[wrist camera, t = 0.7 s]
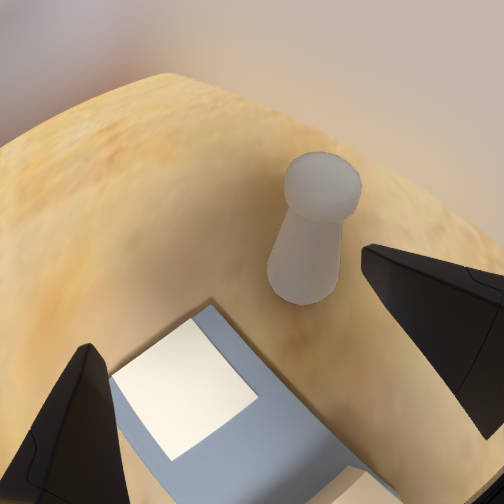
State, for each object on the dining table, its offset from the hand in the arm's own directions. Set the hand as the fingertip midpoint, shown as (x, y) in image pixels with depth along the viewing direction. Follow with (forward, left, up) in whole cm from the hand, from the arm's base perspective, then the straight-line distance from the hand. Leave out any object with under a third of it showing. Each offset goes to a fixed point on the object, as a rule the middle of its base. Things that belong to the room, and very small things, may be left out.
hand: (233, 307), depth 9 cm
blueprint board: (-4, +4, -15) cm, 17 cm away
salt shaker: (+4, -9, -16) cm, 18 cm away
